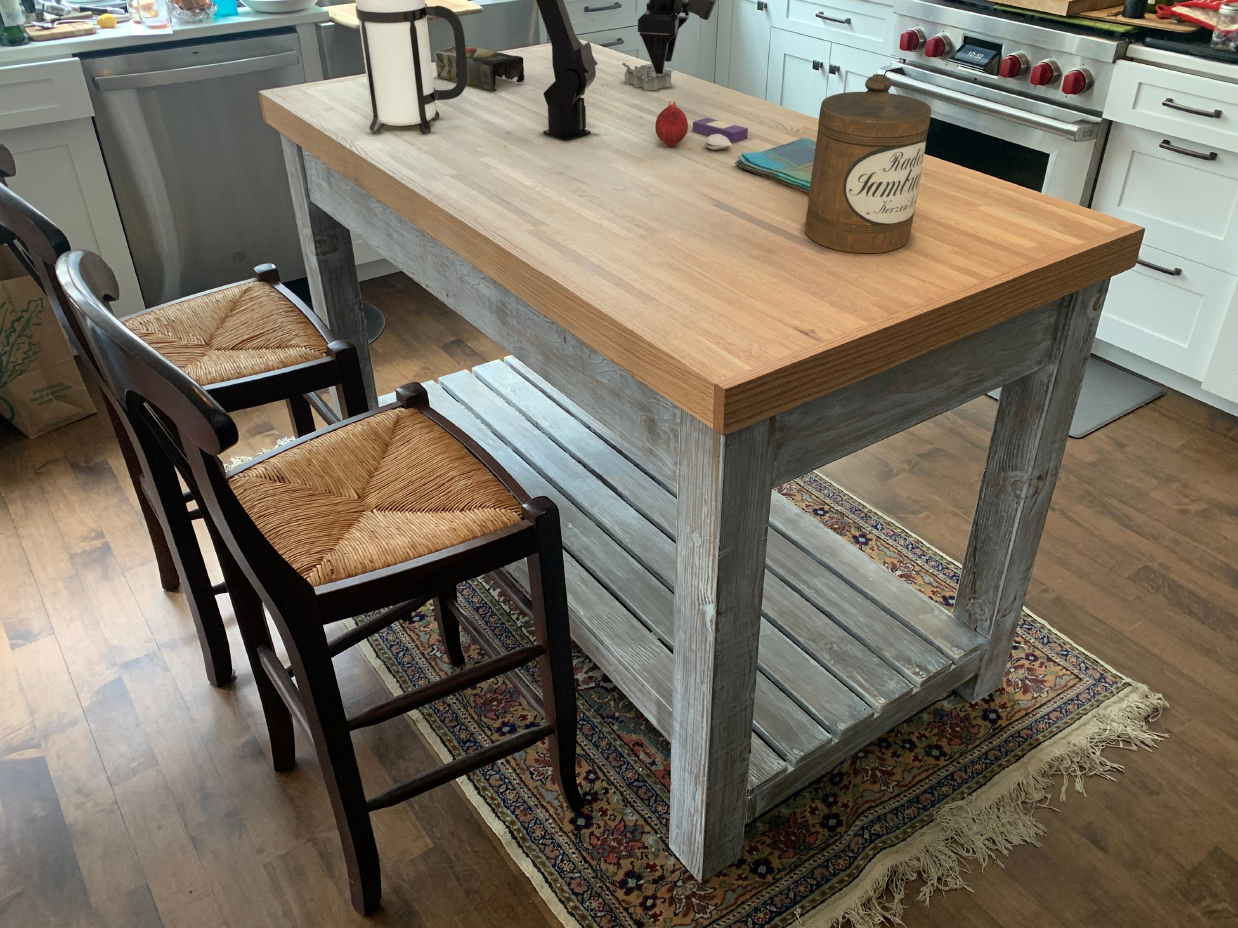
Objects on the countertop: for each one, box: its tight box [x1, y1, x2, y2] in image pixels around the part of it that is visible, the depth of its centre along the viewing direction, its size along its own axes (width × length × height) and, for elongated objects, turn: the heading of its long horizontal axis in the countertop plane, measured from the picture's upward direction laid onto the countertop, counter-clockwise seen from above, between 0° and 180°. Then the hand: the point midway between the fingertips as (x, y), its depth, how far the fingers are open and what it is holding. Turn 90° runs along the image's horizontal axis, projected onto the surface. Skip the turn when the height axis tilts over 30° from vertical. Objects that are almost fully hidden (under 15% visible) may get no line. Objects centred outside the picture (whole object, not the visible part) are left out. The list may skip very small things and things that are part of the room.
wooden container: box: [804, 73, 932, 254], centre depth 136 cm, size 15×15×22 cm
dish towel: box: [734, 137, 816, 194], centre depth 162 cm, size 17×23×2 cm
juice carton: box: [434, 44, 525, 92], centre depth 214 cm, size 20×10×6 cm, turn 48°
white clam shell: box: [705, 134, 733, 151], centre depth 174 cm, size 4×5×2 cm
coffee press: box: [354, 0, 467, 135], centre depth 179 cm, size 17×16×30 cm
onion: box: [654, 100, 689, 148], centre depth 174 cm, size 6×6×8 cm
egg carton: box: [621, 62, 675, 91], centre depth 212 cm, size 11×8×4 cm
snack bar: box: [691, 117, 749, 144], centre depth 182 cm, size 10×4×2 cm, turn 44°
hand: (663, 67), depth 172 cm, fingers open, 9 cm apart
